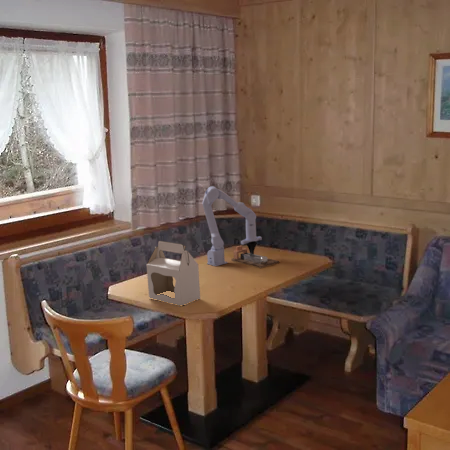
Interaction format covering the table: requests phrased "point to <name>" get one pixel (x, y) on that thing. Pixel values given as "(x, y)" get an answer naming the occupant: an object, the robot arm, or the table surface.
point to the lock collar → (238, 250)
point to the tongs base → (254, 259)
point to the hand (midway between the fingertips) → (251, 254)
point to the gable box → (173, 275)
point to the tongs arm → (252, 254)
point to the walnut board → (269, 262)
